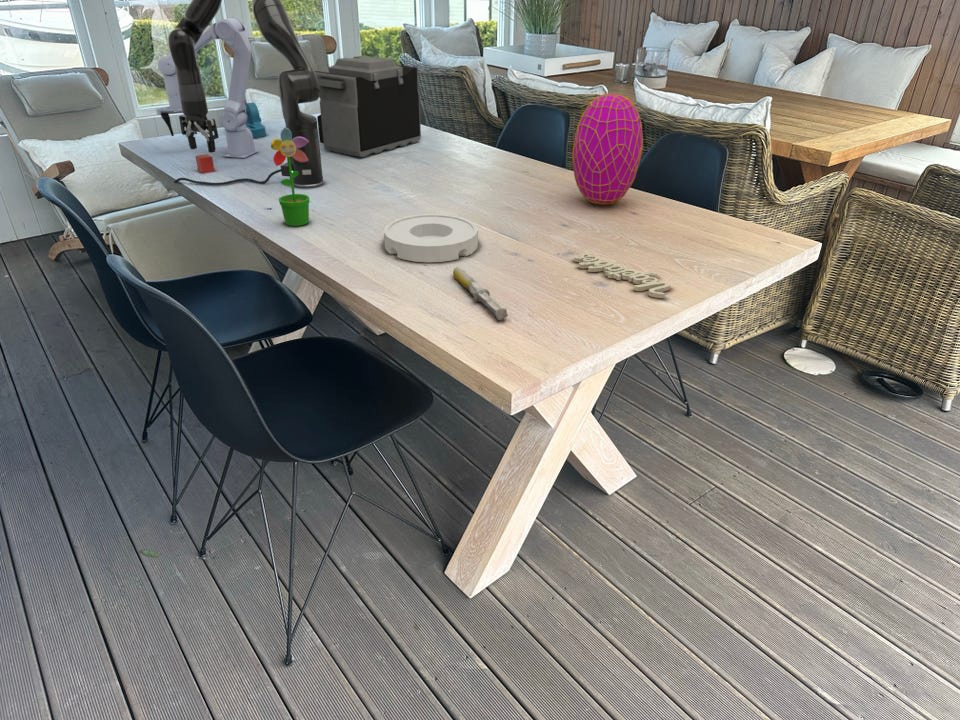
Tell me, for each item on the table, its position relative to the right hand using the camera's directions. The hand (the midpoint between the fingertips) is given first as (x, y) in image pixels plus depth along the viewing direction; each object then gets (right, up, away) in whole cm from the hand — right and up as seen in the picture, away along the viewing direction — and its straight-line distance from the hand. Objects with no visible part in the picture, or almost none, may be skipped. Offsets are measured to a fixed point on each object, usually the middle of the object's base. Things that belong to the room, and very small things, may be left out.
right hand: (202, 150), depth 224 cm
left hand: (-14, +11, +19) cm, 26 cm away
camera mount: (-2, +22, +50) cm, 55 cm away
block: (0, -6, +3) cm, 7 cm away
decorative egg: (+126, -22, -22) cm, 130 cm away
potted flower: (+42, -32, -40) cm, 66 cm away
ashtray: (+78, -40, -53) cm, 102 cm away
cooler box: (+49, +12, +35) cm, 62 cm away
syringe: (+90, -55, -79) cm, 132 cm away
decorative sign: (+123, -49, -68) cm, 149 cm away
